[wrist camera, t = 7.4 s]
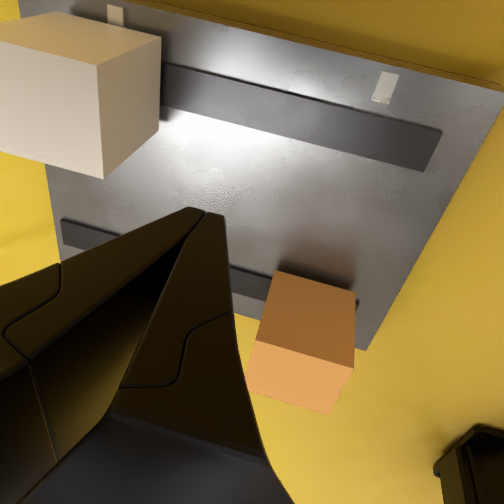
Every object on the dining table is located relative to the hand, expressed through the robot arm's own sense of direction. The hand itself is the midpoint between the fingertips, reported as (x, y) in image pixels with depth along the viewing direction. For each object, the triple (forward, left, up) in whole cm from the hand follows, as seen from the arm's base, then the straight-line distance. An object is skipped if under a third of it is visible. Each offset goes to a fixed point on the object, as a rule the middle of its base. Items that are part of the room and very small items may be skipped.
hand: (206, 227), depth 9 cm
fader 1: (+6, 0, -8) cm, 10 cm away
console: (+1, +4, -10) cm, 11 cm away
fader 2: (-4, +9, -8) cm, 13 cm away
